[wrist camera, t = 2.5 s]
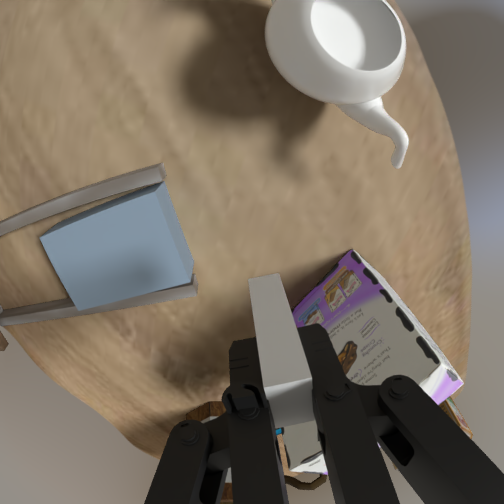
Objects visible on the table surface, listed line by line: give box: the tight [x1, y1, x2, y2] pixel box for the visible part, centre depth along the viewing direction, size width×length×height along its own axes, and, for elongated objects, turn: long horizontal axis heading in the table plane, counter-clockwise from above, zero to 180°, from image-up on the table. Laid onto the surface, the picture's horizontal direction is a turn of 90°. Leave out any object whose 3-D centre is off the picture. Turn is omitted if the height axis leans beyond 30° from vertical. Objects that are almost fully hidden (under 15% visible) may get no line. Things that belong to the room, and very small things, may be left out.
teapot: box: [265, 0, 409, 169], centre depth 16 cm, size 10×20×9 cm, turn 29°
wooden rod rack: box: [0, 163, 198, 351], centre depth 22 cm, size 14×30×8 cm, turn 100°
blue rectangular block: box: [40, 181, 194, 311], centre depth 25 cm, size 8×12×4 cm, turn 105°
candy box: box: [281, 249, 464, 474], centre depth 24 cm, size 14×6×16 cm, turn 141°
